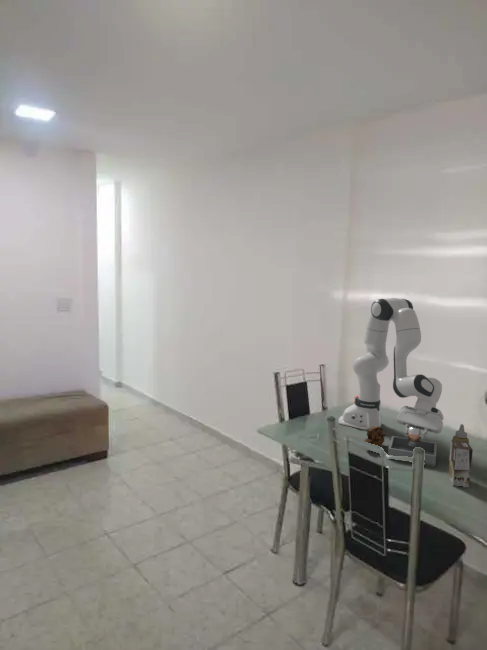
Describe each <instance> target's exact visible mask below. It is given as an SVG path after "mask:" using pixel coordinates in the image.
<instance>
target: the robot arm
mask: <svg viewBox="0 0 487 650" xmlns="http://www.w3.org/2000/svg"><path fill="white" fill-rule="evenodd" d="M391 321H392V322H393V324H394V326H395V327H394V328H395V333H396V341H395V346H394V347H393V381H392V389H393V392H394V393H395V394H396V396H398V397H399V398H401V399H402V398H403V399H404V398H409V397H417V400H416V401H415V404H414V407H413V406H408V405H404V406H401V408H400V410H399V413H398V414H397V416H396V422H397V423H398V424H399V425H403V426H404V427H405V432H404V434H405V435H408V432H409V427H410V426H417V427H419V428H421V430H422V431H423V432H422V433H421V432H420V435H419V438H420V439H422V440H424V437H425V436H426V435H427V434H428V433H434V434H441V432H442V430H443V426H444V422H443V420H444V414H443V412H442V410H441V409H439V408H438V407H437V403H438V402H439V400H440V398H441V394H442V392H443V391H442V390H443V384H442V382H441V381H440V380H438V379H437V378H435V377H427V376H425V375H424V374H418V373H417V374H412V375H408V374H407V373H408V371H407V359H408V356H409V355H410V353H412V351H414V350H415V349H417V347H419V345H420V344H421V341H422V332H421V326H420V321H419V318H418V316H417V313H416V311H415V310H414V305H413V303H412V302H411V301H410V300H409V299H407V298H397V297H391V298H379V299H377V300H374V301H373V302H372V304H371V307H370V313H369V315H368V318H367V322H366V326H365V327H366V328H365V333H364V339H363V342H364V344H365V346H366V353H365V354H363V355H360V356H358V357H357V358H356V359H355V360H354V361H353V363H352V370H353V372H354V373H355V374H356V377H357V380H358V395H356V396H355V397H354V403H353V404H352V405H349V406H348V407H347V408H345V409H344V411H343V414H342V415H341V416H339V418H338V424H340V425H343V426H347V427H352V428H357V429H360V430H364V431H368V430H369V429H370V428H371V427H373V426H376V427H378V426H379V427H382V422H381V417H380V416H381V415H380V410H381V384H380V383H379V381H378V377H377V375H378V373H380V372H383V371H384V370H385V369H386V368H387V367H388V365H389V361H390V360H389V357H388V355H387V349H386V345H387V338H388V332H389V326H390V322H391Z"/></svg>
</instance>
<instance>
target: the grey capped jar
mask: <svg viewBox="0 0 487 650" xmlns="http://www.w3.org/2000/svg"><path fill="white" fill-rule="evenodd" d="M408 430H409V432H408V436H407V438H408V445H409V446H412V447H419V445H420V440H421V438H419V435H420V433H421V430H422V429H421V428H419V427H417V426H410V427H409V428H408Z"/></svg>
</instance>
